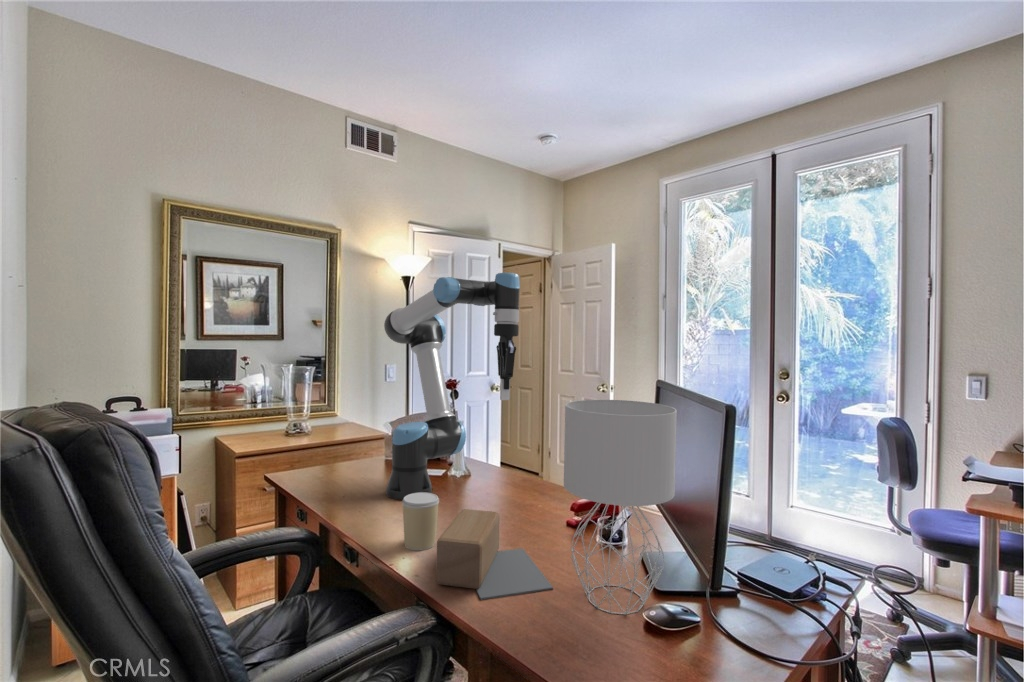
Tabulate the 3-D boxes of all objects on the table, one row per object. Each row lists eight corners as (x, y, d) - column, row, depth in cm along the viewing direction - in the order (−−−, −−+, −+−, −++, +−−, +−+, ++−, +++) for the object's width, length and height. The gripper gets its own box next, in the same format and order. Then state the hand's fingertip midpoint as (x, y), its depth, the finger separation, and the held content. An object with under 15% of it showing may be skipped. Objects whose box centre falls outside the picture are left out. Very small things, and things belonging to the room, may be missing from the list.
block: (499, 550, 122) (480, 591, 103) (461, 546, 124) (434, 585, 105) (500, 510, 122) (480, 543, 103) (461, 507, 124) (435, 539, 104)
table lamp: (561, 569, 114) (565, 398, 114) (659, 576, 112) (664, 401, 111) (560, 626, 92) (565, 412, 91) (684, 636, 89) (689, 417, 89)
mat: (460, 557, 119) (460, 555, 119) (522, 549, 124) (522, 548, 124) (480, 600, 100) (480, 598, 100) (553, 589, 105) (553, 587, 105)
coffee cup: (444, 539, 129) (445, 494, 129) (427, 554, 120) (428, 505, 120) (413, 534, 132) (414, 490, 132) (394, 548, 123) (395, 500, 123)
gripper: (489, 323, 156) (487, 397, 156) (500, 322, 144) (499, 402, 144) (511, 324, 158) (510, 396, 159) (524, 323, 146) (523, 402, 146)
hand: (504, 399), depth 151 cm, fingers closed
